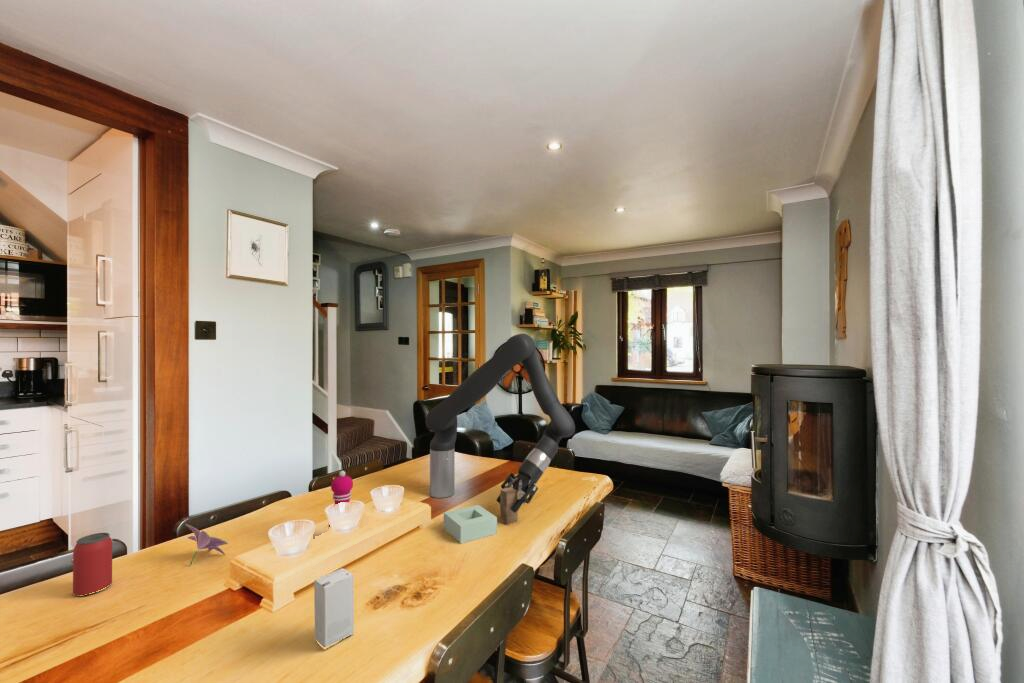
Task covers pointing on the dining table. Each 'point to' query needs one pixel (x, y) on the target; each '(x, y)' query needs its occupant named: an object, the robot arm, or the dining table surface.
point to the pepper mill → (341, 488)
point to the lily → (205, 541)
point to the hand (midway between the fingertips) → (505, 506)
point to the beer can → (92, 563)
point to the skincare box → (334, 607)
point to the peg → (508, 505)
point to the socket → (470, 523)
